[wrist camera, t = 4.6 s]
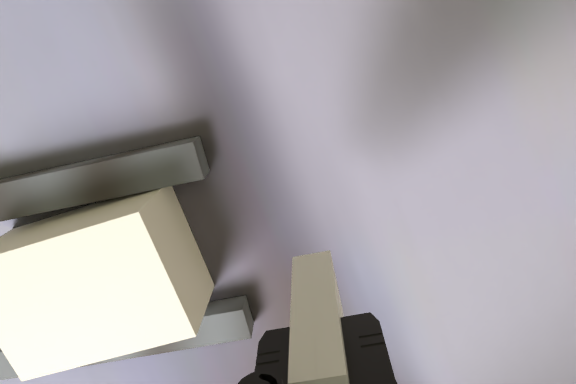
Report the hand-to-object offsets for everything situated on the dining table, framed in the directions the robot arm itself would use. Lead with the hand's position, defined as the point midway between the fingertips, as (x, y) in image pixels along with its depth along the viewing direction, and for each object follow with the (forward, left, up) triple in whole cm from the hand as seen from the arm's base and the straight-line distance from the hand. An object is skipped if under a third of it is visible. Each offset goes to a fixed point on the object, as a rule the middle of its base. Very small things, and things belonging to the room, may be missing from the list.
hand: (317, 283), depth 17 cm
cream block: (+12, 0, -8) cm, 14 cm away
